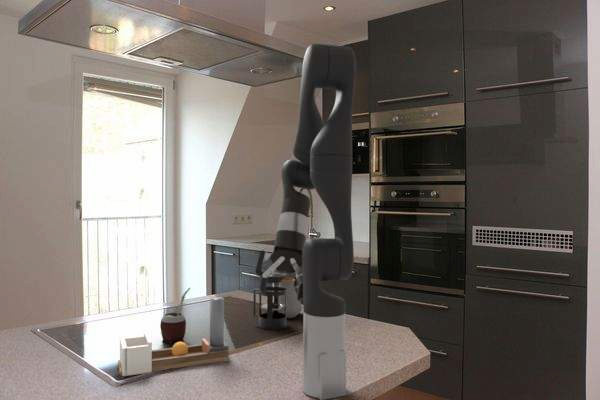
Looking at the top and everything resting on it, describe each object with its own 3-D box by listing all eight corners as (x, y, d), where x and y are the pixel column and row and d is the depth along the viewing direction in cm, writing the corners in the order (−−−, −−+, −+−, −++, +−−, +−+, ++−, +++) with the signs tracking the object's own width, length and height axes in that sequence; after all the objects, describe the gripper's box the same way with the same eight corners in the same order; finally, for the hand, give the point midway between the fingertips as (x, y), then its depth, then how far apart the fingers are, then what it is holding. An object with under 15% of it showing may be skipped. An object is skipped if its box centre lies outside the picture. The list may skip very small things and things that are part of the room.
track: (228, 360, 120) (228, 350, 120) (120, 375, 109) (120, 365, 109) (220, 351, 127) (220, 341, 127) (117, 364, 116) (117, 354, 116)
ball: (189, 359, 118) (189, 343, 118) (173, 361, 116) (173, 345, 116) (186, 354, 121) (186, 338, 121) (170, 356, 120) (170, 340, 120)
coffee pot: (268, 319, 160) (268, 275, 160) (271, 311, 172) (271, 270, 172) (330, 320, 160) (331, 276, 160) (329, 312, 171) (329, 271, 171)
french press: (291, 322, 156) (292, 254, 156) (285, 330, 147) (286, 257, 147) (257, 320, 158) (258, 253, 158) (249, 328, 149) (250, 256, 149)
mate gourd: (157, 346, 131) (157, 292, 131) (164, 337, 139) (165, 287, 138) (184, 346, 131) (184, 292, 131) (190, 337, 139) (190, 287, 139)
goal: (151, 372, 111) (151, 342, 111) (122, 376, 109) (122, 345, 109) (146, 359, 120) (147, 332, 119) (119, 363, 117) (120, 334, 117)
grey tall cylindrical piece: (228, 353, 121) (229, 300, 121) (206, 356, 119) (207, 301, 119) (223, 347, 126) (223, 295, 126) (201, 350, 124) (202, 297, 124)
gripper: (263, 224, 114) (251, 290, 108) (321, 234, 114) (311, 300, 108) (263, 233, 121) (251, 295, 115) (317, 242, 121) (308, 304, 115)
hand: (280, 297), depth 111 cm, fingers open, 8 cm apart
